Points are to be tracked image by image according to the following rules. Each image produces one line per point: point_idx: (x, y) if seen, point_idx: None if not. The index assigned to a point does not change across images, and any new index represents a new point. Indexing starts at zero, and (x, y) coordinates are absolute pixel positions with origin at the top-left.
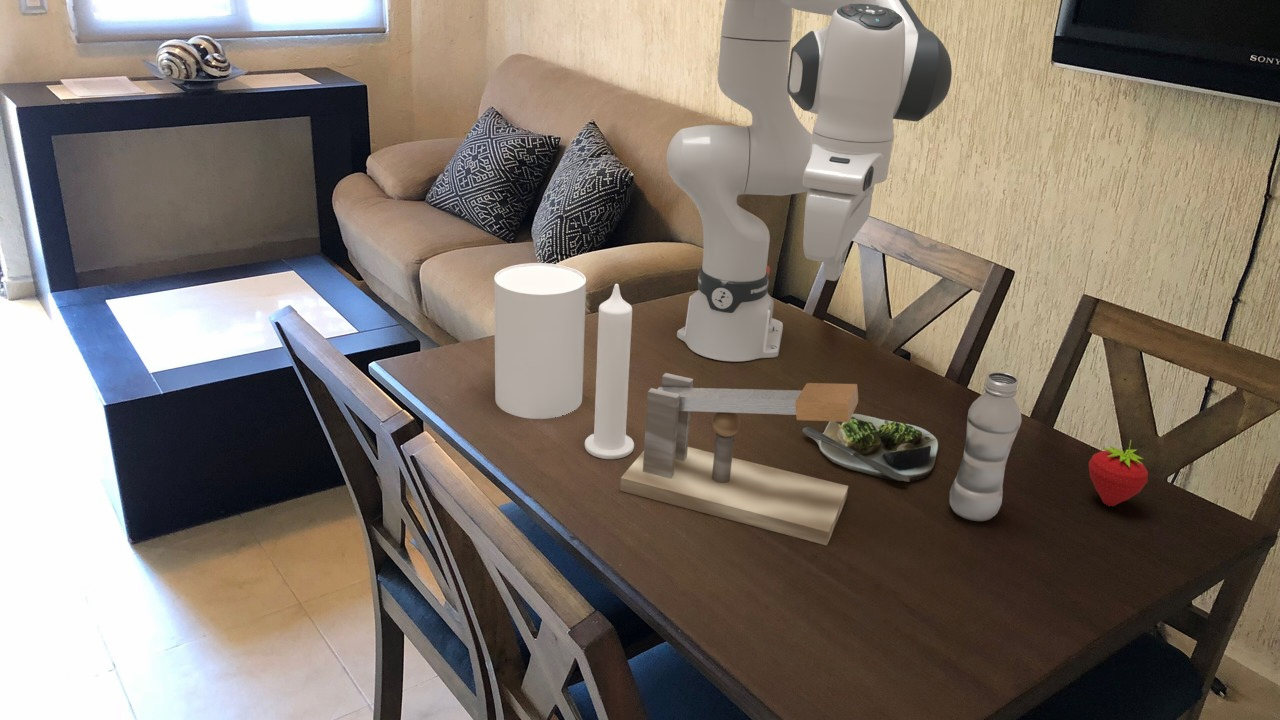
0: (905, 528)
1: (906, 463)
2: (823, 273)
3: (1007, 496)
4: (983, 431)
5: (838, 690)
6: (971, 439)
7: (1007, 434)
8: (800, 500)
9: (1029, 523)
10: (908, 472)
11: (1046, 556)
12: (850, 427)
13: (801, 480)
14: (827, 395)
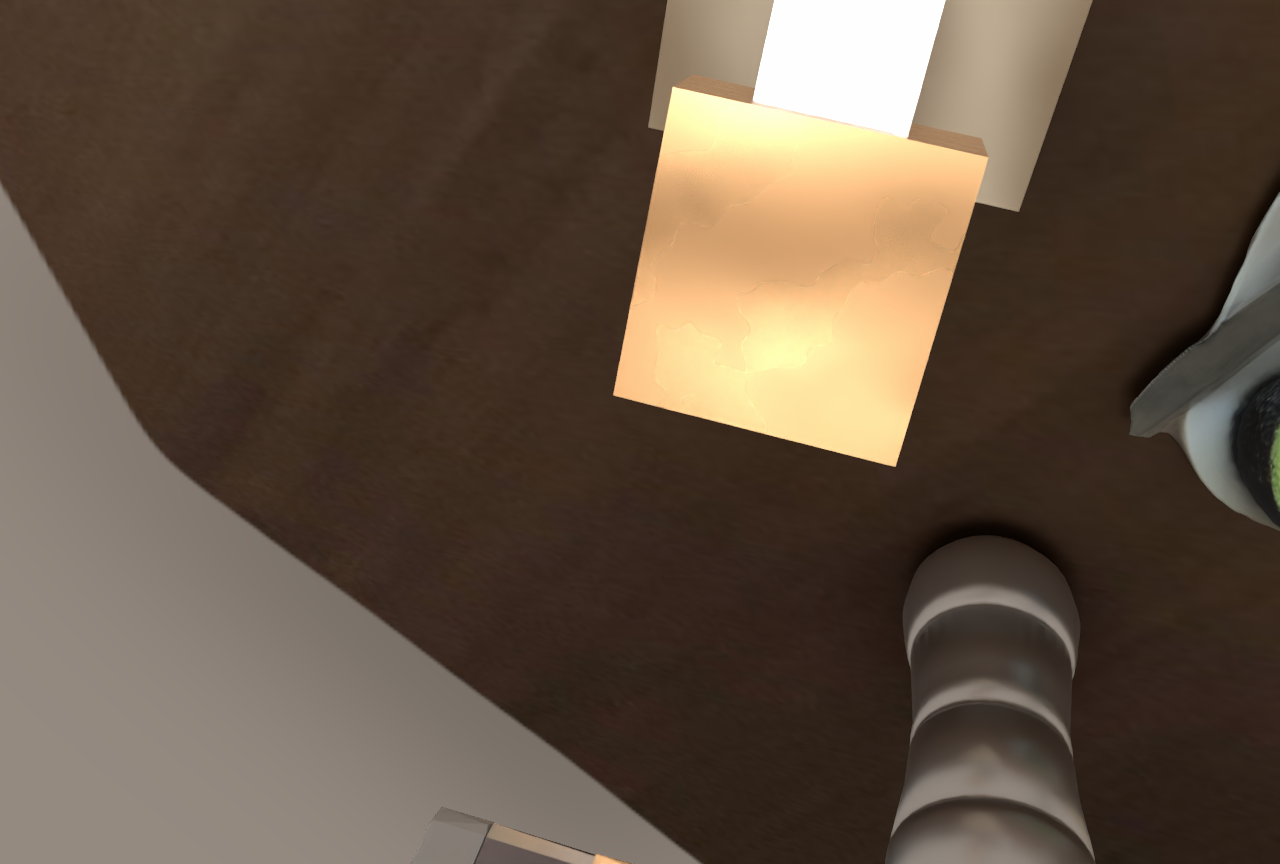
0: None
1: (1239, 449)
2: (420, 848)
3: (1127, 697)
4: (903, 820)
5: (28, 133)
6: (947, 756)
7: None
8: None
9: None
10: (1204, 442)
11: (796, 703)
12: None
13: (1033, 6)
14: (745, 289)
